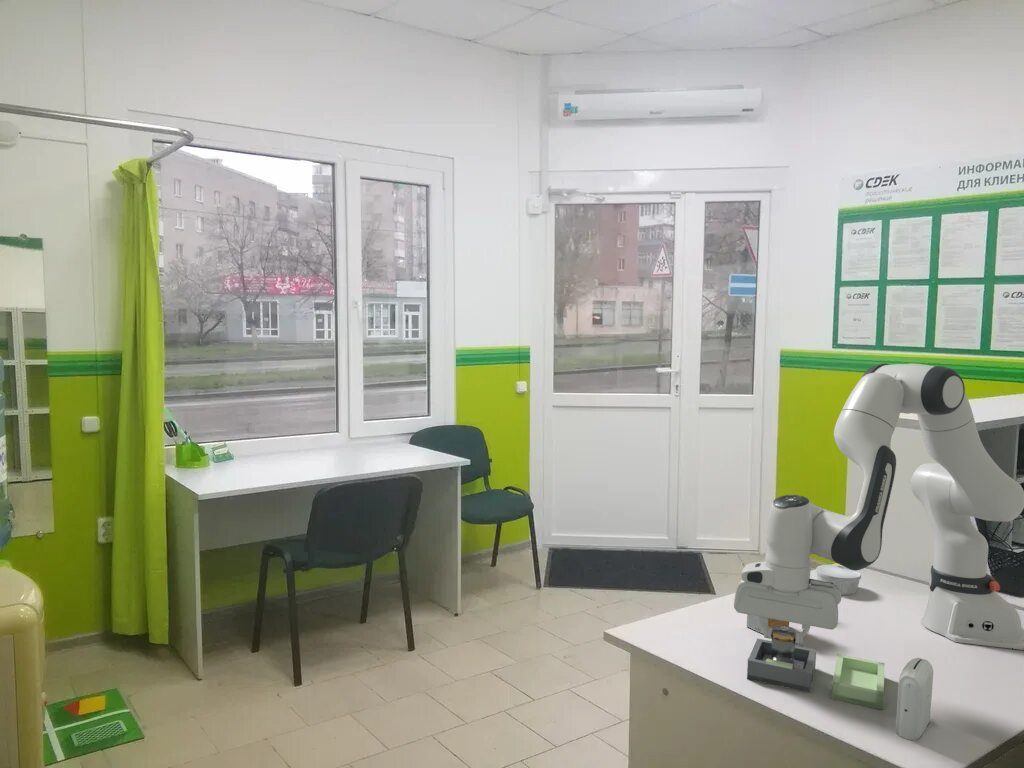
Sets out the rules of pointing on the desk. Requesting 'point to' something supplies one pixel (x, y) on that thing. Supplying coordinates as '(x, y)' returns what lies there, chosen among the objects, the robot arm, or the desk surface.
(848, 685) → the green trough
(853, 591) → the ramekin
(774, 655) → the grey cell
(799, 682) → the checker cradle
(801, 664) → the pan
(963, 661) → the desk surface
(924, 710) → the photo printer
